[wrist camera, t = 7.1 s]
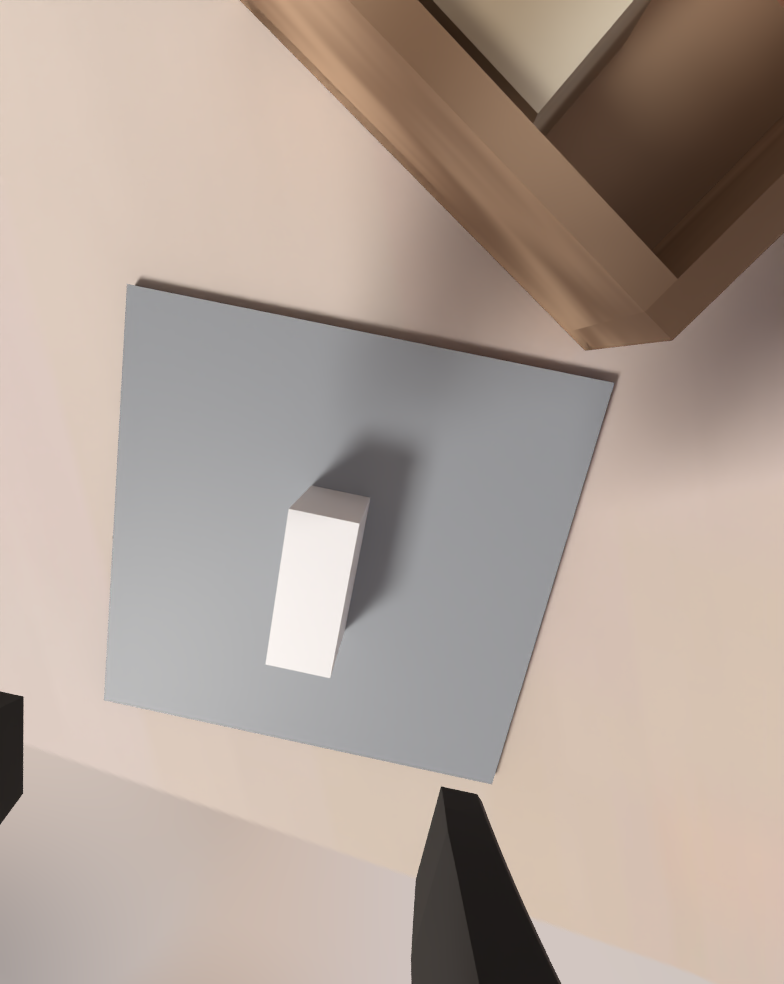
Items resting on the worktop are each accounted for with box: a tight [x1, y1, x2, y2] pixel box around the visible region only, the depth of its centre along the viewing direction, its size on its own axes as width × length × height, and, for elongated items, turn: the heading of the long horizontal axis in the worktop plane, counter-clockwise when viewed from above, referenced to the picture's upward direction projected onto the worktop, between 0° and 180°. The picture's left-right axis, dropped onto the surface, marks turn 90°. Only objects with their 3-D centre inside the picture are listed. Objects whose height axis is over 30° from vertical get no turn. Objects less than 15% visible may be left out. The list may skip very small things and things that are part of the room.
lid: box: [104, 284, 614, 784], centre depth 16 cm, size 15×15×4 cm
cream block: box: [418, 0, 651, 136], centre depth 11 cm, size 4×4×4 cm
